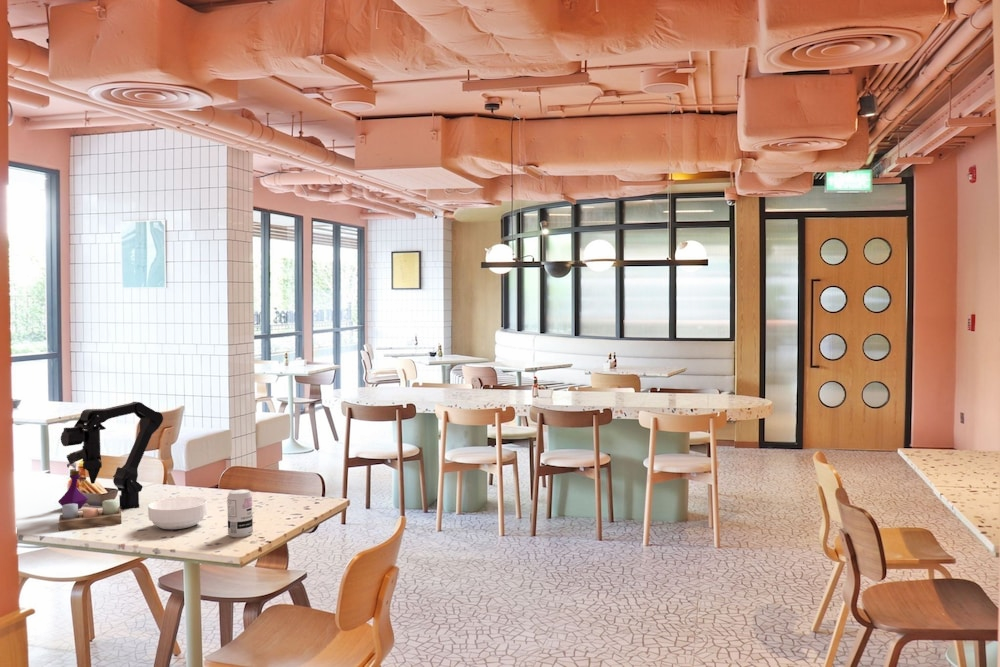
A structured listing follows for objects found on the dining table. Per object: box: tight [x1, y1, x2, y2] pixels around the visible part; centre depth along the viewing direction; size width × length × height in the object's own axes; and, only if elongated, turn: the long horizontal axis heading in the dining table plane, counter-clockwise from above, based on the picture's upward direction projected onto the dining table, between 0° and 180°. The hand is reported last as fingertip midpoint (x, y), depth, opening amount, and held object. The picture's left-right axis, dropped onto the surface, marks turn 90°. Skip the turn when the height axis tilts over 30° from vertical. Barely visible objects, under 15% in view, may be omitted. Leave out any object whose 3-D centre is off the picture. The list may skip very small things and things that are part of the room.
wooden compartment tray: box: [58, 507, 122, 531], centre depth 294 cm, size 20×12×3 cm, turn 117°
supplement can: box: [226, 488, 254, 538], centre depth 278 cm, size 8×8×15 cm
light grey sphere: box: [61, 503, 79, 520], centre depth 291 cm, size 5×5×5 cm
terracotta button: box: [82, 507, 99, 517], centre depth 294 cm, size 5×5×5 cm
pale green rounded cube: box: [101, 498, 119, 515], centre depth 297 cm, size 5×5×5 cm
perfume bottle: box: [58, 462, 89, 509], centre depth 316 cm, size 8×8×18 cm
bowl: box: [147, 496, 208, 530], centre depth 289 cm, size 20×20×8 cm
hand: (92, 483), depth 306 cm, fingers closed
